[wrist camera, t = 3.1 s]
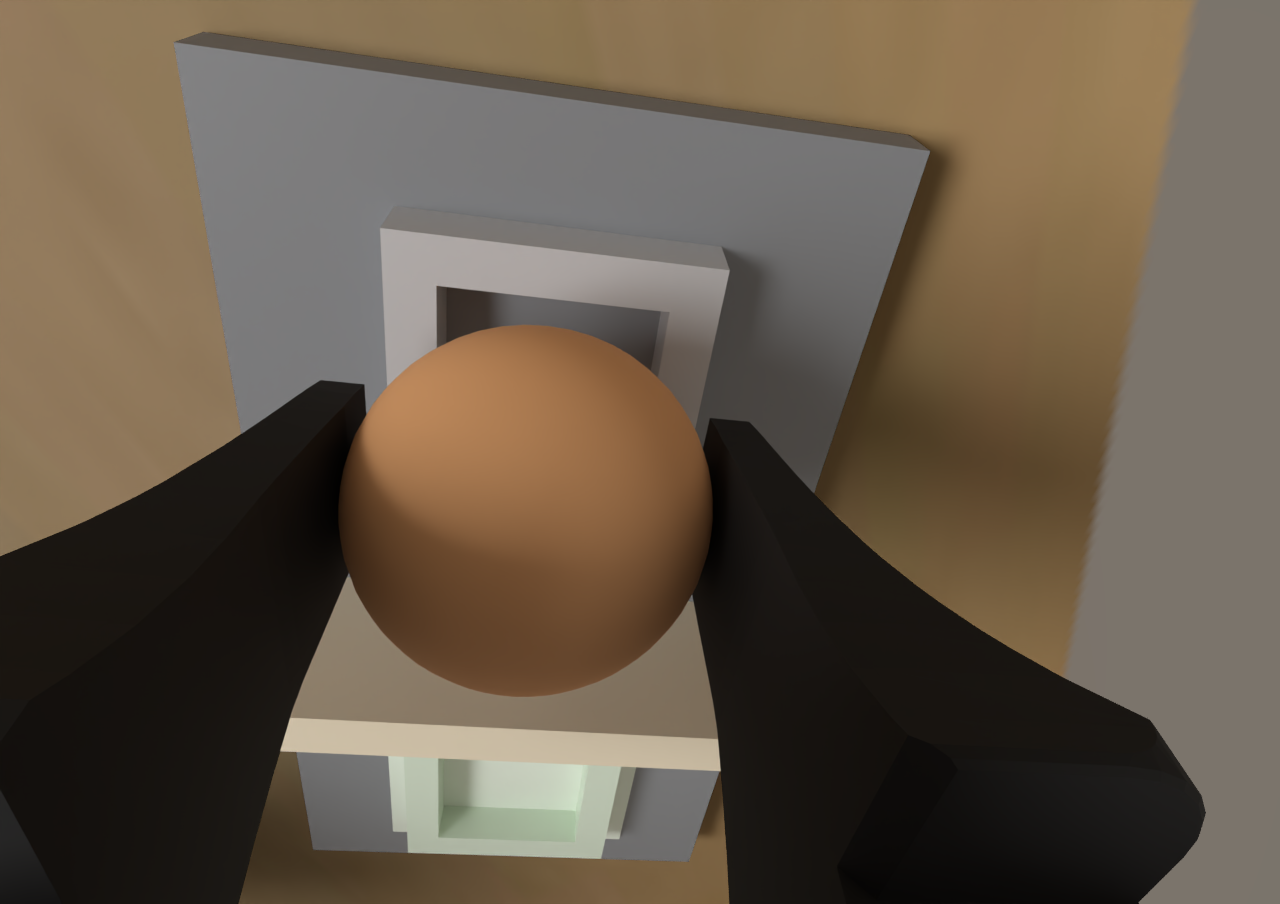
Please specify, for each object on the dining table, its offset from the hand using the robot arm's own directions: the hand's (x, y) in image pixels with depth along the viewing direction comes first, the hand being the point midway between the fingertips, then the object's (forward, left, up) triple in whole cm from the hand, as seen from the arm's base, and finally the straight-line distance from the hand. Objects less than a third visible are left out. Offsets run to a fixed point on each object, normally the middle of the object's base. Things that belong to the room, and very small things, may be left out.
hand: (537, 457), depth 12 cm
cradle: (-12, 0, -4) cm, 13 cm away
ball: (0, 0, +1) cm, 1 cm away
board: (-6, 0, -4) cm, 7 cm away
